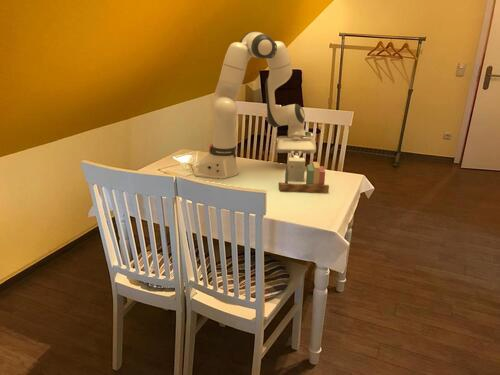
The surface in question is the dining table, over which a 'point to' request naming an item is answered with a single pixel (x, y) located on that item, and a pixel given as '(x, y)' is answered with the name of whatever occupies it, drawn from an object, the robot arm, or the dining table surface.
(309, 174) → the upright books
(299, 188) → the walnut rail
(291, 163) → the small box
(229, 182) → the dining table surface
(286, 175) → the bookend
